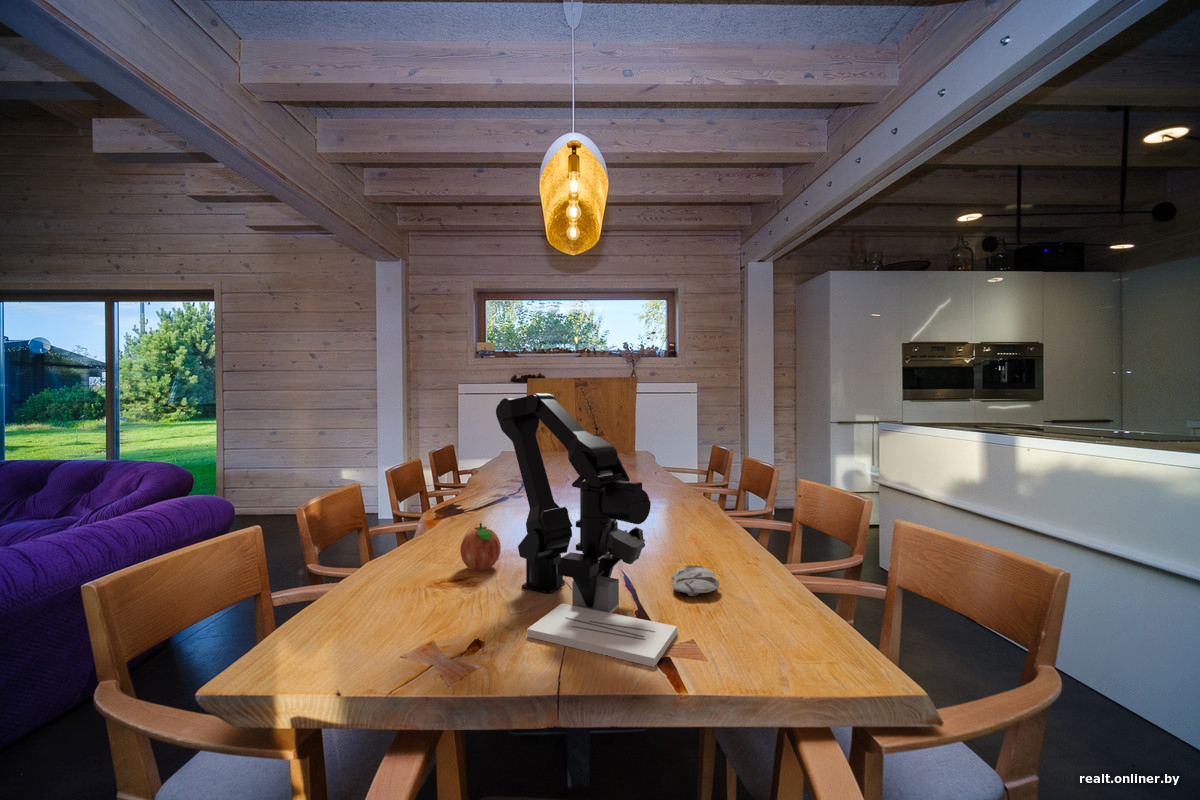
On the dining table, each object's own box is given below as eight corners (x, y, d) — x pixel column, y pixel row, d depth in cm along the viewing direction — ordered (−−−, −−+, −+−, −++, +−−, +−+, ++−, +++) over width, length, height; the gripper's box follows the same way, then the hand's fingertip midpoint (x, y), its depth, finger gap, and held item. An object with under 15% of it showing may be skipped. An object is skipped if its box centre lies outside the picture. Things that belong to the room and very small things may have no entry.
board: (527, 636, 79) (527, 628, 79) (561, 610, 89) (561, 603, 89) (654, 667, 70) (654, 658, 70) (677, 633, 80) (677, 626, 80)
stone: (723, 602, 94) (723, 584, 94) (673, 600, 94) (673, 582, 94) (713, 579, 106) (713, 563, 106) (669, 578, 106) (669, 562, 106)
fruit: (459, 577, 106) (459, 529, 106) (461, 563, 115) (461, 519, 115) (501, 574, 108) (501, 527, 108) (499, 560, 117) (499, 517, 117)
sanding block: (572, 609, 90) (572, 581, 90) (584, 600, 94) (584, 573, 94) (608, 616, 87) (608, 587, 87) (618, 606, 91) (618, 579, 91)
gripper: (616, 531, 78) (616, 632, 78) (656, 508, 95) (656, 591, 95) (554, 524, 83) (554, 619, 83) (602, 503, 100) (602, 582, 100)
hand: (596, 602), depth 90 cm, fingers closed on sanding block, 4 cm apart
